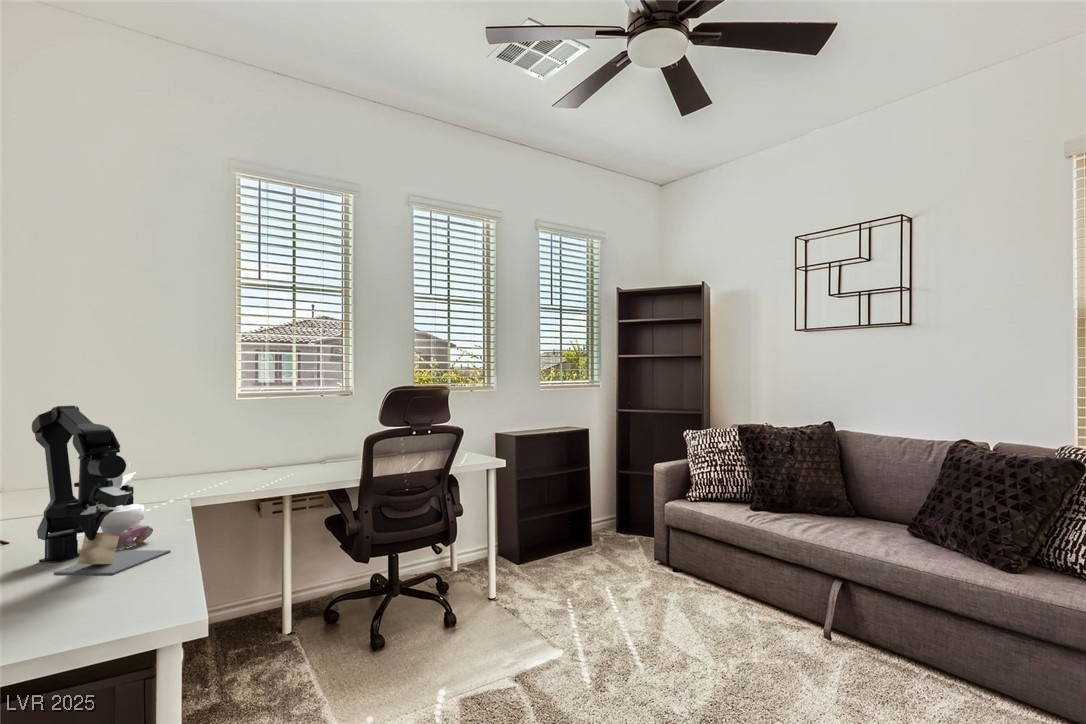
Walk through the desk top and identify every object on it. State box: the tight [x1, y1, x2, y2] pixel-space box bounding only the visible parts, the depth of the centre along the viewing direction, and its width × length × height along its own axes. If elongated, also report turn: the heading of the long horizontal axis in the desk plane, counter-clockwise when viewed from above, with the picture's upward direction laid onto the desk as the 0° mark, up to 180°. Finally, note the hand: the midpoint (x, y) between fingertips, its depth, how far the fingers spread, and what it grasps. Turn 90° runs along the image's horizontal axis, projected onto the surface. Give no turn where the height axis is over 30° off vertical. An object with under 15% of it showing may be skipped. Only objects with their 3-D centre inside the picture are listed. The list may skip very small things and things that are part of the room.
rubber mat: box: [53, 549, 171, 576], centre depth 143 cm, size 16×18×1 cm
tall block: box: [77, 532, 120, 564], centre depth 139 cm, size 5×5×8 cm
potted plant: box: [99, 459, 145, 534], centre depth 165 cm, size 13×12×25 cm
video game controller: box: [116, 524, 154, 550], centre depth 158 cm, size 10×5×7 cm, turn 169°
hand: (91, 540), depth 137 cm, fingers closed
